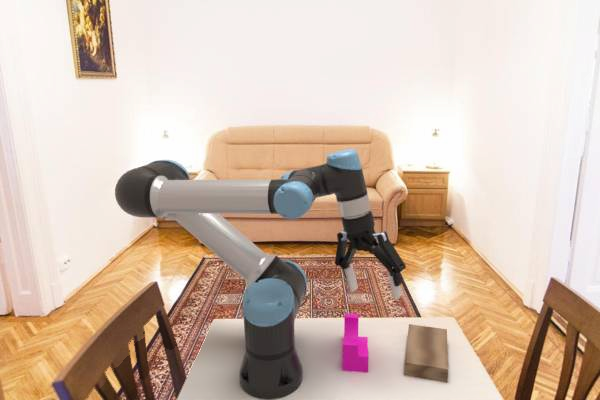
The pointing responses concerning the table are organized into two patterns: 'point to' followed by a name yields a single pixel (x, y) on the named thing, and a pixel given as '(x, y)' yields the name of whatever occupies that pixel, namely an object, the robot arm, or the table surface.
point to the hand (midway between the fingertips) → (375, 293)
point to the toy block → (354, 346)
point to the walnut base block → (426, 353)
